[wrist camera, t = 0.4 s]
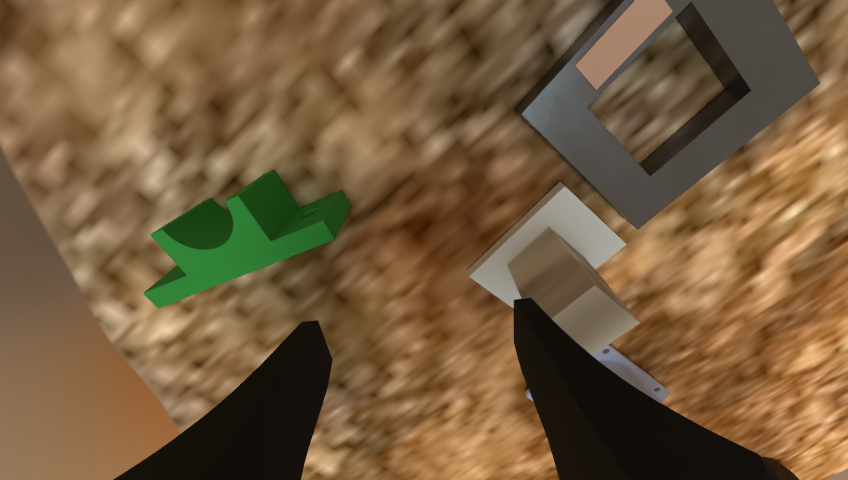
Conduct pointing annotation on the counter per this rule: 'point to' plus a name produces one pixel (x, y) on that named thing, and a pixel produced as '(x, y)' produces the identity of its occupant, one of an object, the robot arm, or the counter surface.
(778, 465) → the dark brown elongated lump
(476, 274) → the white rectangular plate
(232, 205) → the pipe clamp
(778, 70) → the plate
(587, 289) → the birch peg
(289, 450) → the robot arm
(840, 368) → the counter surface
